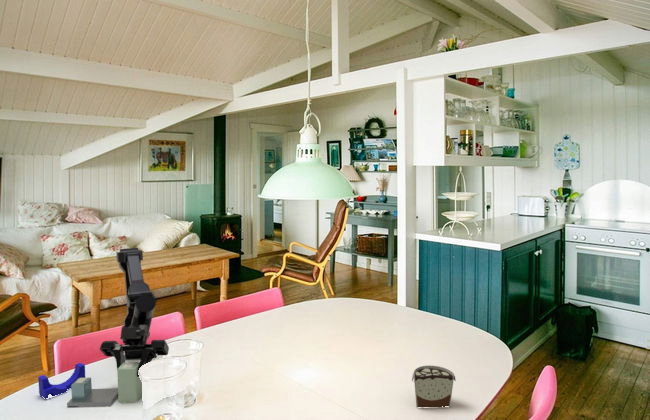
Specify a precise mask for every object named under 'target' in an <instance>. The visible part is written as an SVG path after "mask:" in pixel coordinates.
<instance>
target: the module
mask: <svg viewBox="0 0 650 420" xmlns="http://www.w3.org/2000/svg"><path fill="white" fill-rule="evenodd" d="M139 364H140V361H127V362H126V361H125V362H123V364H122V365H121V366H120V367H119V368H118V369H117V368H116V371H117V388H118V397H117V399H118V404H119V403H120V404H121V403H137V402H138V400H139V399H140V398H141V396H142V395H143V392H142V391H143V390H142V389H143V388H142V387H143V386H142V385H143V384H142V379H141V380H140V378H139V377H137V371H138V367H139ZM141 394H142V395H141Z"/></svg>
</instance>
